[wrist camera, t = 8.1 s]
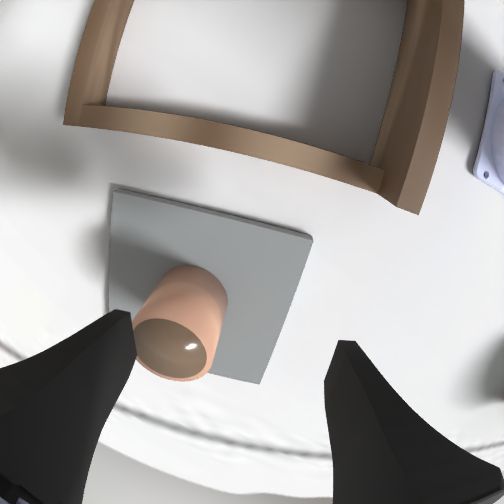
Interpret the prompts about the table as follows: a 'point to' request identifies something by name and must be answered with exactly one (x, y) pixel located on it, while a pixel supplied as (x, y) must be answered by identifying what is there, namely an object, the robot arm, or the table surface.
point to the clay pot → (181, 324)
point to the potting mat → (209, 270)
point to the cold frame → (289, 151)
